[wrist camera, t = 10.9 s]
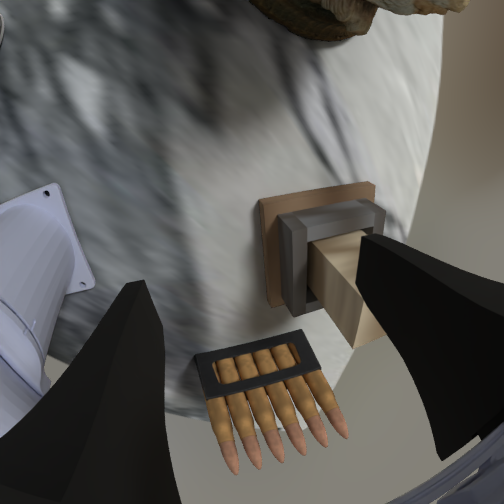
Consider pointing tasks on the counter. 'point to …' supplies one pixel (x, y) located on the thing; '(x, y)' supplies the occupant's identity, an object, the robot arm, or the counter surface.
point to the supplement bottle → (1, 28)
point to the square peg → (341, 286)
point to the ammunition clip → (256, 390)
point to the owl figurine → (344, 14)
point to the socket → (310, 235)
